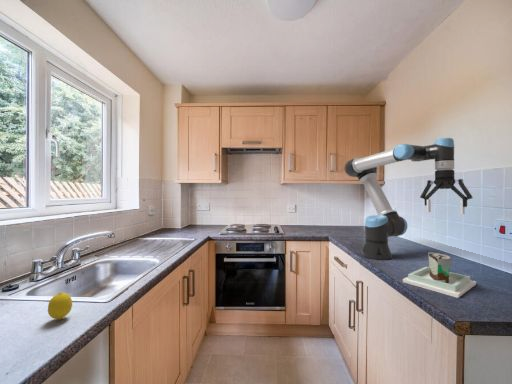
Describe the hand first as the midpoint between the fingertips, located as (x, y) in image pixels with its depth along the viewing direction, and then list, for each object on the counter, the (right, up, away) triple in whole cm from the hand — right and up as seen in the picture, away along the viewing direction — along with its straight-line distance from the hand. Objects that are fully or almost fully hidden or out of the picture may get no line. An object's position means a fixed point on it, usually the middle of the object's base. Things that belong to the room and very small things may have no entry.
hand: (444, 213), depth 116 cm
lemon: (-151, -28, -46) cm, 160 cm away
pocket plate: (-19, -27, -20) cm, 38 cm away
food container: (-18, -26, -21) cm, 38 cm away
